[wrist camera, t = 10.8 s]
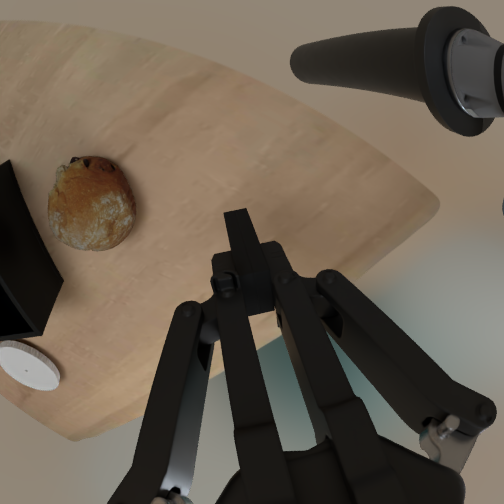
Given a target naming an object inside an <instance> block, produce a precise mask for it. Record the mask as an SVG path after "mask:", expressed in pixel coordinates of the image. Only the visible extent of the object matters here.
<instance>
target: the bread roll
mask: <svg viewBox="0 0 504 504" xmlns="http://www.w3.org/2000/svg"><path fill="white" fill-rule="evenodd" d="M56 176H57V179H56V183H55V184H54V187H53V188H54V189H53V190H51V191H50V193H49V201H48V219H49V224H50V227H51V229H52V231H53V233H54V235H55V237H56V238H57V239H59V240H60V241H61V242H63V243H65V244H66V245H68V246H70V247H72V248H75V249H79V250H92V251H103V250H108V249H111V248H113V247H115V246H117V245H118V244H120V243H121V242H122V241H123V240H124V239H125V238H126V237H127V236H128V234H129V233H130V231H131V229H132V227H133V224H134V221H135V215H136V204H135V199H134V196H133V194H132V190H131V189H130V186H129V184H128V182H127V179H126V178H125V176H124V174H123V172H122V171H121V170H120V169H119V167H118V166H116V165H115V164H113V163H111V162H109V161H108V160H107V159H104V158H101V157H91V156H88V157H82V158H81V157H80V158H78V157H73V158H72V159H71V162H70V164H69V167H67V166H65V165H62V166H61V167H59V168H58V169H57V172H56Z"/></svg>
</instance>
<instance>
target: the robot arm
mask: <svg viewBox="0 0 504 504" xmlns="http://www.w3.org/2000/svg"><path fill="white" fill-rule="evenodd" d="M442 64H443V73H444V79H445V83H446V86H447V89H448V92H449V94H450V96H451V98H452V100H453V102H454V103H455V105H456V106H457V107H458V108H459V109H460V110H461V111H462V112H463V113H465V114H468V115H470V116H473V117H476V118H492V117H504V44H503V43H501V42H499V41H497V40H495V39H493V38H491V37H489V36H487V35H485V34H483V33H480V32H478V31H476V30H473V29H468V28H457V29H455V30H453V31H452V32H451V33H450V34H449V35H448V37H447V39H446V41H445V44H444V48H443V56H442ZM502 210H503V214H504V200H503V205H502ZM223 214H224V218H225V223H226V228H227V233H228V238H229V243H230V247H231V251H227V252H222V253H217V254H214V256H213V258H212V260H211V261H212V270H213V276H212V277H211V280H210V282H211V286H212V289H213V292H214V294H213V296H212V297H211V298H210V299H209V300H207V301H205V302H203V303H201V304H200V303H198V302H196V301H186V302H184V303H181V304H180V305H179V306H178V307H177V308H176V310H175V312H174V315H173V318H172V321H171V324H170V328H169V331H168V334H167V337H166V340H165V344H164V347H163V350H162V354H161V357H160V360H159V364H158V367H157V371H156V374H155V377H154V381H153V385H152V388H151V392H150V395H149V399H148V403H147V406H146V410H145V414H144V418H143V422H142V426H141V429H140V433H139V437H138V442H137V446H136V450H135V454H134V459H133V463H132V467H131V468H130V470H129V471H128V473H127V475H126V476H125V477H124V479H123V480H122V482H121V483H120V485H119V486H118V488H117V489H116V491H115V492H114V494H113V495H112V497H111V498H110V500H109V501H108V503H107V504H193V503H192V501H191V500H190V499H189V498H187V496H188V493H189V490H190V487H191V484H192V480H193V475H194V468H195V461H196V455H197V447H198V441H199V435H200V428H201V422H202V415H203V409H204V403H205V397H206V391H207V385H208V379H209V373H210V367H211V361H212V355H213V350H214V342H216V341H218V340H220V342H221V349H222V355H223V362H224V368H225V375H226V381H227V387H228V393H229V399H230V405H231V411H232V417H233V422H234V440H235V445H236V451H237V456H238V461H239V466H240V469H239V470H238V471H237V472H236V473H235V474H234V475H233V476H232V478H231V479H230V480H229V482H228V483H227V485H226V487H225V488H224V490H223V492H222V493H221V495H220V497H219V498H218V500H217V501H216V503H215V504H464V499H465V484H464V481H463V479H462V477H461V476H460V472H461V471H462V469H463V467H464V465H465V463H466V461H467V459H468V457H469V454H470V453H471V450H472V448H473V446H474V444H475V442H476V439H477V437H478V435H479V434H480V433H481V432H482V431H484V430H485V429H487V428H488V427H489V426H490V425H491V424H493V422H494V420H495V419H496V414H497V410H496V406H495V404H494V402H493V401H492V400H490V399H489V398H487V397H485V396H483V395H481V394H479V393H477V392H475V391H473V390H471V389H469V388H467V387H465V386H463V385H461V384H459V383H457V382H455V381H453V380H452V379H451V378H450V377H449V376H448V375H447V374H446V373H445V372H444V371H443V370H442V369H441V368H440V367H439V366H438V365H437V364H436V363H435V362H434V361H433V360H432V359H431V358H430V357H429V356H428V355H427V354H426V353H425V352H424V351H423V350H422V349H421V348H420V347H419V346H418V345H417V344H416V343H415V342H414V341H413V340H412V339H411V338H410V337H409V336H408V335H407V334H406V333H405V332H404V331H403V330H402V329H401V328H399V326H397V325H396V324H395V323H394V322H393V321H392V320H391V319H390V318H389V317H388V316H387V315H386V314H385V313H384V312H383V311H382V310H380V309H379V308H378V307H377V306H376V305H375V304H374V303H373V302H372V301H371V300H370V299H369V298H367V297H366V296H365V295H364V294H363V293H362V292H361V291H360V290H359V289H357V287H355V286H354V285H353V284H352V283H351V282H350V281H349V280H348V279H347V278H345V277H344V276H343V275H342V274H341V273H340V272H338V271H336V270H332V269H326V270H323V271H321V272H319V273H318V274H317V276H316V278H305V277H301V276H299V275H298V274H297V272H295V271H293V269H292V267H291V265H290V263H289V261H288V259H287V257H286V255H285V253H284V251H283V248H282V246H281V245H280V244H279V243H278V242H276V241H271V242H266V243H261V244H260V242H259V240H258V237H257V235H256V232H255V229H254V227H253V224H252V222H251V219H250V216H249V214H248V211H247V209H246V208H244V209H239V210H234V211H229V212H224V213H223ZM274 306H275V309H276V315H277V324H278V327H280V329H281V332H282V335H283V338H284V341H285V344H286V347H287V350H288V352H289V356H290V359H291V362H292V365H293V368H294V371H295V374H296V377H297V380H298V383H299V386H300V389H301V392H302V395H303V398H304V401H305V404H306V407H307V410H308V413H309V416H310V419H311V422H312V425H313V429H314V432H315V438H316V443H317V445H316V446H315V447H313V448H311V449H309V450H306V451H283V450H282V446H281V442H280V438H279V435H278V431H277V427H276V424H275V421H274V417H273V413H272V410H271V406H270V402H269V398H268V394H267V390H266V387H265V383H264V379H263V375H262V371H261V367H260V363H259V359H258V355H257V351H256V347H255V343H254V339H253V335H252V331H251V327H250V323H249V319H248V316H252V315H257V314H261V313H265V312H270V311H274V310H275V309H274ZM325 330H326V331H327V332H328V333H329V335H330V336H331V337H332V338H333V339H334V340H335V342H336V343H337V344H338V345H339V346H340V347H341V349H342V350H343V351H344V352H345V353H346V355H347V356H348V357H349V358H350V359H351V360H352V362H353V363H354V364H355V365H356V366H357V367H358V369H359V370H360V371H361V372H362V373H363V374H364V376H365V377H366V378H367V379H368V380H369V381H370V383H371V384H372V385H373V386H374V387H375V388H376V390H377V391H378V392H379V393H380V394H381V395H382V397H383V398H384V399H385V400H386V401H387V403H388V404H389V405H390V406H391V407H392V408H393V410H394V411H395V412H396V413H397V414H398V416H399V417H400V418H401V419H402V420H403V421H404V422H405V423H406V424H407V425H408V426H409V427H410V428H411V429H412V430H414V431H415V432H416V433H418V434H420V437H419V442H420V447H421V449H422V450H425V452H426V453H427V454H428V456H429V458H430V459H428V458H426V457H424V456H422V455H419V454H417V453H415V452H413V451H411V450H409V449H407V448H405V447H403V446H401V445H399V444H397V443H394V442H393V441H391V440H389V439H387V438H385V437H383V436H380V435H378V434H377V432H376V429H375V427H374V425H373V422H372V420H371V418H370V416H369V413H368V411H367V409H366V407H365V404H364V403H363V401H362V399H360V397H357V396H356V395H355V394H354V393H353V390H352V388H351V386H350V383H349V381H348V379H347V377H346V374H345V372H344V370H343V368H342V366H341V363H340V361H339V359H338V357H337V355H336V352H335V350H334V348H333V346H332V344H331V341H330V339H329V337H328V335H327V333H326V331H325Z"/></svg>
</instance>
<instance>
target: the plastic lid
mask: <svg viewBox="0 0 504 504" xmlns="http://www.w3.org/2000/svg"><path fill="white" fill-rule="evenodd" d="M0 366H2V368H3V369H4V370H5V371H6V372H7V373H8V374H9V375H10V376H11V377H13V378H14V379H16V380H17V381H18V382H21V383H22V384H24V385H26V386H28V387H31V388H34V389H38V390H43V391H44V390H45V391H46V390H47V391H48V390H49V391H50V390H54V389H55V388H57V387H58V385H59V380H60V374H59V371H58V369H57V367H56V366H55V365H54V364H53V362H51V360H49V358H47V357H46V356H44V354H42V353H41V352H39V351H38V350H36V349H34V348H33V347H30V346H28V345H25V344H24V343H21V342H18V341H17V342H16V341H13V340H12V341H11V340H10V341H9V340H7V341H4V342H1V343H0Z"/></svg>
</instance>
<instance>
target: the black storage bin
mask: <svg viewBox="0 0 504 504" xmlns="http://www.w3.org/2000/svg"><path fill="white" fill-rule="evenodd" d="M63 282H64V280H63V278H62V277H61V275H60V273H59V271H58V269H57V268H56V266H55V264H54V262H53V260H52V258H51V256H50V255H49V253H48V251H47V249H46V247H45V245H44V243H43V241H42V239H41V237H40V235H39V232H38V230H37V228H36V226H35V224H34V222H33V219H32V217H31V215H30V212H29V210H28V208H27V205H26V203H25V200H24V198H23V195H22V193H21V190H20V188H19V185H18V182H17V180H16V177H15V174H14V171H13V168H12V165H11V162H10V160H8V161H6V162H4V163H2V164H1V165H0V341H6V340H14V339H22V338H29V337H36V336H42V335H43V332H44V329H45V327H46V324H47V321H48V319H49V316H50V313H51V311H52V308H53V306H54V303H55V301H56V298H57V296H58V293H59V291H60V289H61V286H62V284H63Z"/></svg>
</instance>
